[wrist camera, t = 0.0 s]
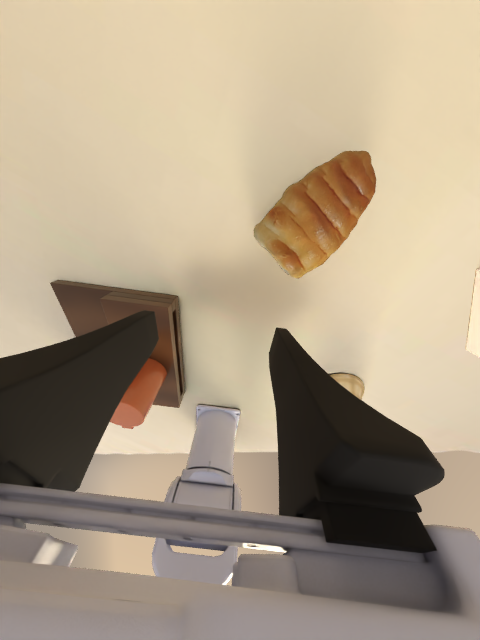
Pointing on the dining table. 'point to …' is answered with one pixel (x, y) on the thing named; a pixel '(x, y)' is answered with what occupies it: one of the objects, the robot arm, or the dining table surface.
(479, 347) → the milk
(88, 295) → the step shelf
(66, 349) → the robot arm
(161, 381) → the jug
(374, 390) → the dining table surface
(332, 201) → the pastry
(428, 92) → the dining table surface
